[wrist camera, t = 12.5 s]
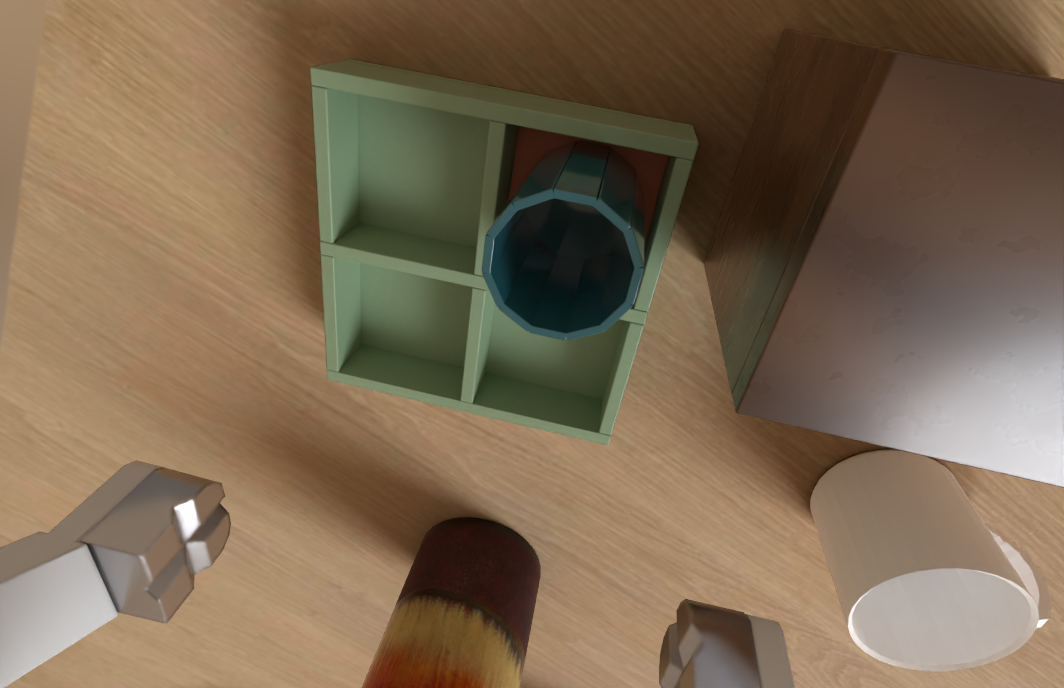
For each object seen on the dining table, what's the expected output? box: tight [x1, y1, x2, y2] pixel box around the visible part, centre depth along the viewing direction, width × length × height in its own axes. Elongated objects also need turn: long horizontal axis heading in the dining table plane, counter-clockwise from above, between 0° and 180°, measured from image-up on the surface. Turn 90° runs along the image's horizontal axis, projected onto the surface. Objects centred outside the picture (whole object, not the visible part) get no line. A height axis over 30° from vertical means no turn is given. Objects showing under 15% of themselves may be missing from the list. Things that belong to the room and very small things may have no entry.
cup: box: [482, 140, 645, 341], centre depth 27 cm, size 7×7×9 cm
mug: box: [810, 450, 1052, 671], centre depth 35 cm, size 12×9×9 cm
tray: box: [310, 59, 699, 445], centre depth 33 cm, size 18×18×4 cm
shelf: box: [704, 29, 1064, 487], centre depth 23 cm, size 12×12×14 cm
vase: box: [362, 518, 540, 688], centre depth 41 cm, size 11×11×20 cm
